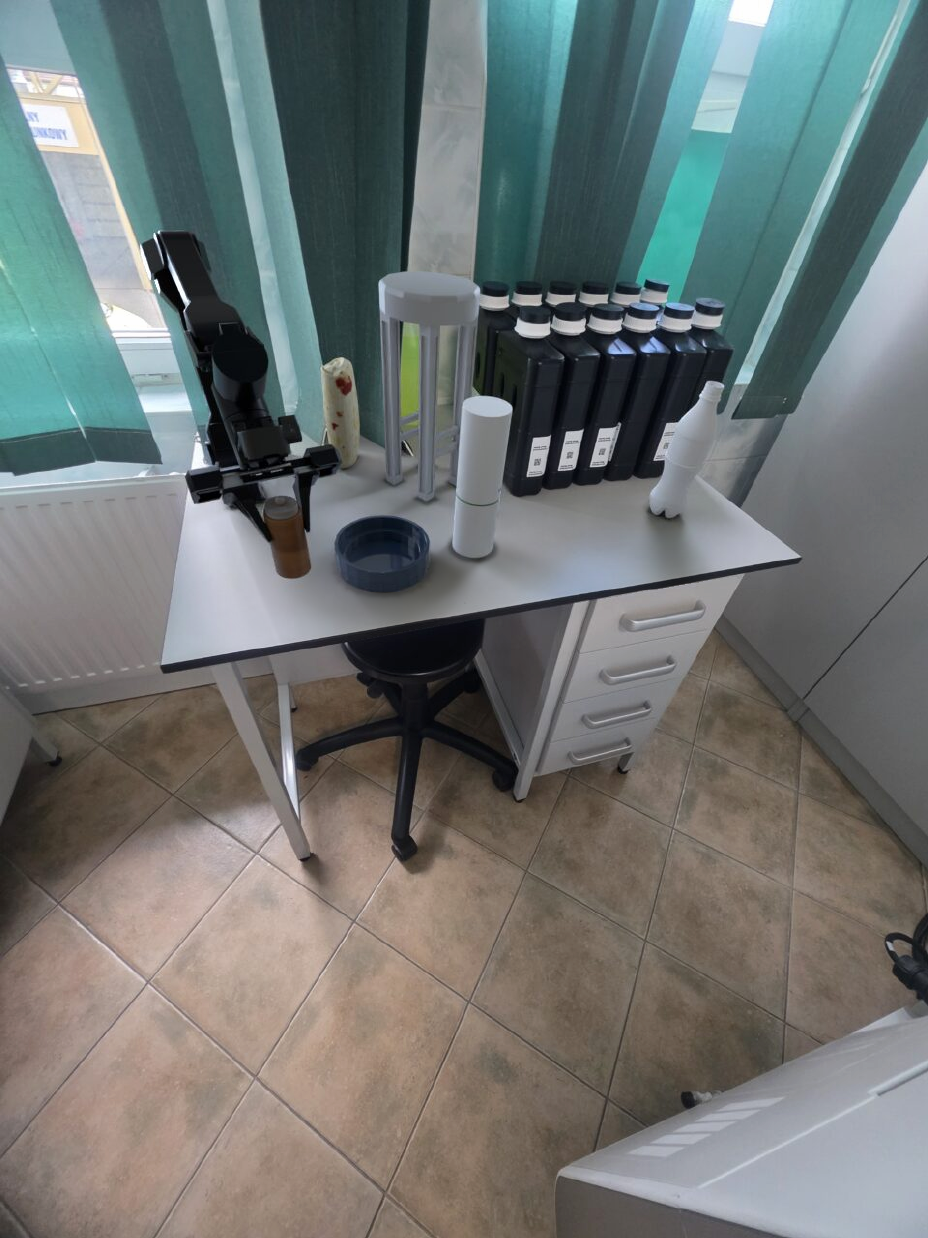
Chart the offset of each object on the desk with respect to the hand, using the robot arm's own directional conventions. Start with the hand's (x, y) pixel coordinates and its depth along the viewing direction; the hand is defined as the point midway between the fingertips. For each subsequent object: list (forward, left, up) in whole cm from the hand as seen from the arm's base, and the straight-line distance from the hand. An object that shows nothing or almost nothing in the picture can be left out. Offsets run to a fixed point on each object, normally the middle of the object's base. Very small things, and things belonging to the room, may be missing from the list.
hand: (289, 537), depth 66 cm
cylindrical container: (-3, +31, -14) cm, 34 cm away
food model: (-40, +21, -14) cm, 47 cm away
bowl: (-5, +15, -13) cm, 21 cm away
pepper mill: (-1, 0, -6) cm, 6 cm away
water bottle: (+2, +73, -14) cm, 74 cm away
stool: (-26, +33, -14) cm, 44 cm away
